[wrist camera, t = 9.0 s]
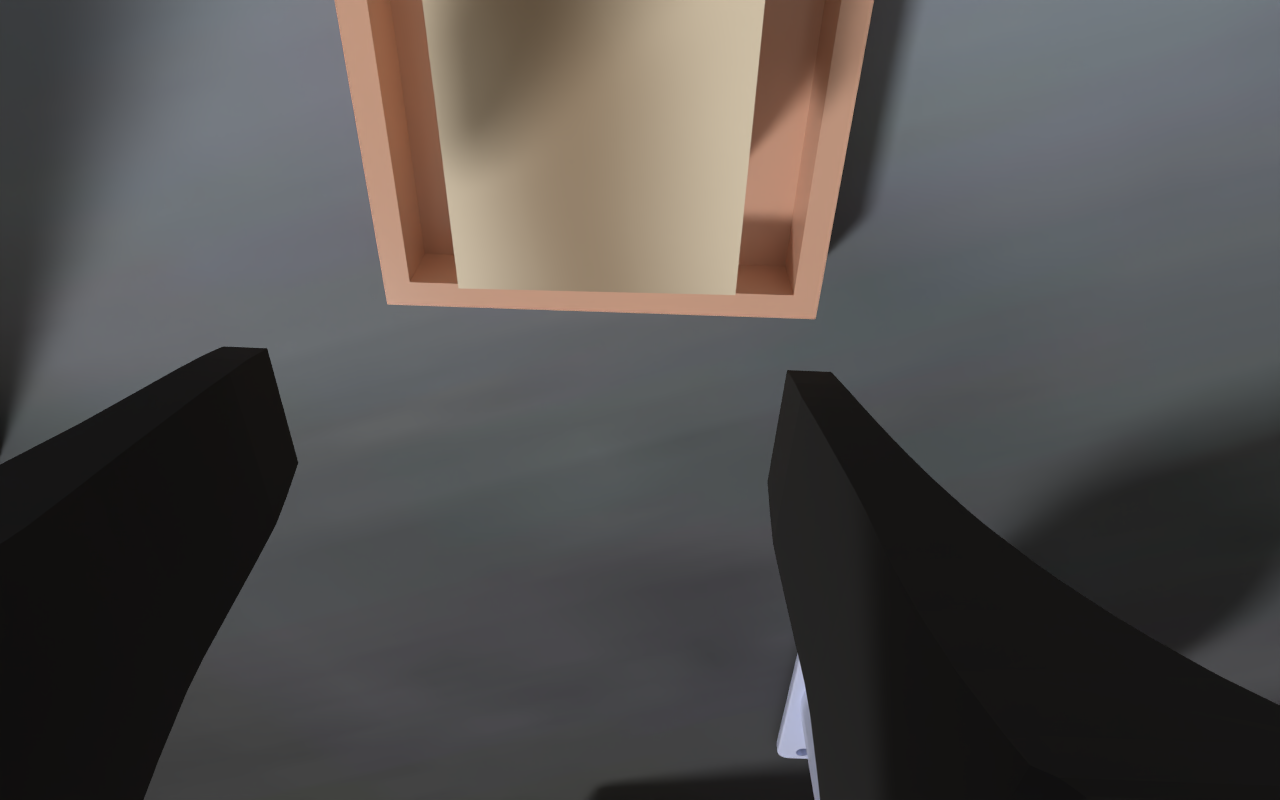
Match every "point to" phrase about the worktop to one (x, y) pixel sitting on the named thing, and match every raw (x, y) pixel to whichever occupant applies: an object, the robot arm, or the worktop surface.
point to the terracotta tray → (766, 287)
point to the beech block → (595, 140)
